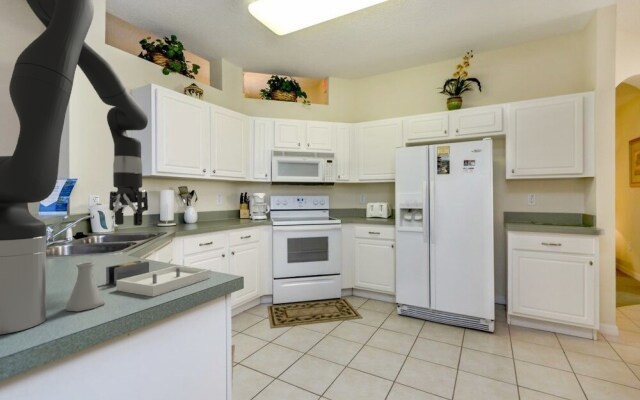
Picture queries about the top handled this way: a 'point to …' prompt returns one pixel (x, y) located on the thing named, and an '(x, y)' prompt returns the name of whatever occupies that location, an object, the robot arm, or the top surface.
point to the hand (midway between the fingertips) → (128, 225)
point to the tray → (162, 280)
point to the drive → (125, 271)
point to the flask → (85, 290)
